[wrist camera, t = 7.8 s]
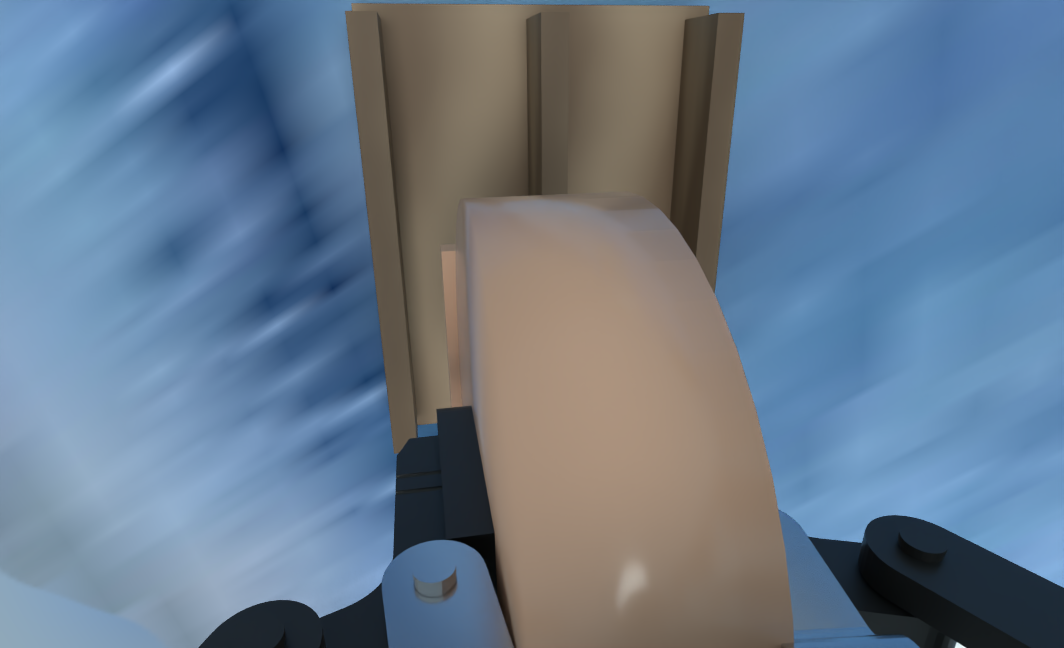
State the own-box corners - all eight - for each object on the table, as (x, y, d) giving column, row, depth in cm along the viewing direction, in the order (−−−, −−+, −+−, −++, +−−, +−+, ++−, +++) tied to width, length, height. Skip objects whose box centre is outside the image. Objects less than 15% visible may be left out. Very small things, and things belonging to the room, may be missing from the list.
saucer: (568, 151, 14) (923, 325, 4) (564, 510, 18) (747, 1036, 8) (434, 155, 13) (492, 363, 4) (458, 524, 17) (520, 1100, 8)
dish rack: (696, 8, 26) (746, -3, 22) (666, 388, 33) (699, 429, 29) (354, 6, 24) (343, -7, 20) (397, 414, 31) (395, 463, 27)
